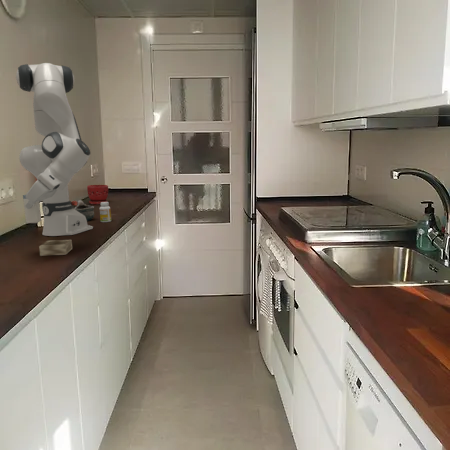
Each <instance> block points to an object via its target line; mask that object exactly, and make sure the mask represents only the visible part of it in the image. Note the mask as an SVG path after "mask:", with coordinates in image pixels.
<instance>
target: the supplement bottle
mask: <svg viewBox="0 0 450 450" xmlns="http://www.w3.org/2000/svg"><path fill="white" fill-rule="evenodd" d="M109 203H110V202H109V201H107V202H101V203H100V204H99V205H100V206H99V209H98V210H99V221H100V222H101V223H110V222H112V212H111V207H110V206H109V205H110V204H109Z"/></svg>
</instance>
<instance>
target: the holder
mask: <svg viewBox="0 0 450 450" xmlns="http://www.w3.org/2000/svg"><path fill="white" fill-rule="evenodd" d="M38 247H39V256H40V257H42V256H43V257H44V256H63V255H68V253H69V252H70V251H71V250H73V241H72V239H59V240H58V239H56V240H55V239H53V240H46V241H44V242H43V243H42V244H41V245H39V246H38Z"/></svg>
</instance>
